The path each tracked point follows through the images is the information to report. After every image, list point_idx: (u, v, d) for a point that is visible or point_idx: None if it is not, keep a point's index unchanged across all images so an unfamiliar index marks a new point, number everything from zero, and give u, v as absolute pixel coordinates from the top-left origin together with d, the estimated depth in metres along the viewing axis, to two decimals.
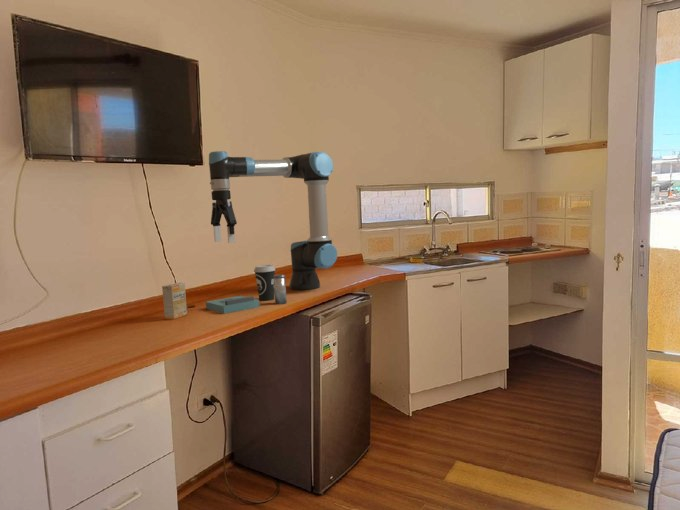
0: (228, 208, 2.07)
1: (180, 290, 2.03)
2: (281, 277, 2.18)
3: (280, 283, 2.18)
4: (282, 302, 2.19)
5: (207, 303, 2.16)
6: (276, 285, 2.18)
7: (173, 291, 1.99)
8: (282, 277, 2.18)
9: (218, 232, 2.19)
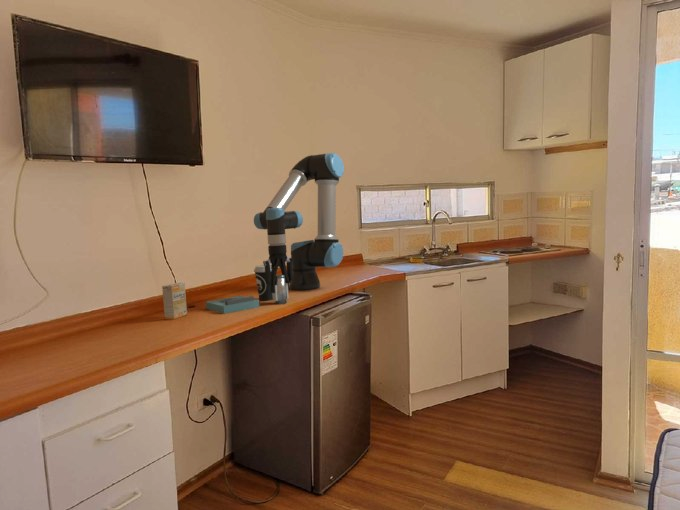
0: (265, 268, 2.16)
1: (180, 290, 2.03)
2: (281, 277, 2.18)
3: (280, 283, 2.18)
4: (282, 302, 2.19)
5: (207, 303, 2.16)
6: None
7: (173, 291, 1.99)
8: (282, 277, 2.18)
9: None
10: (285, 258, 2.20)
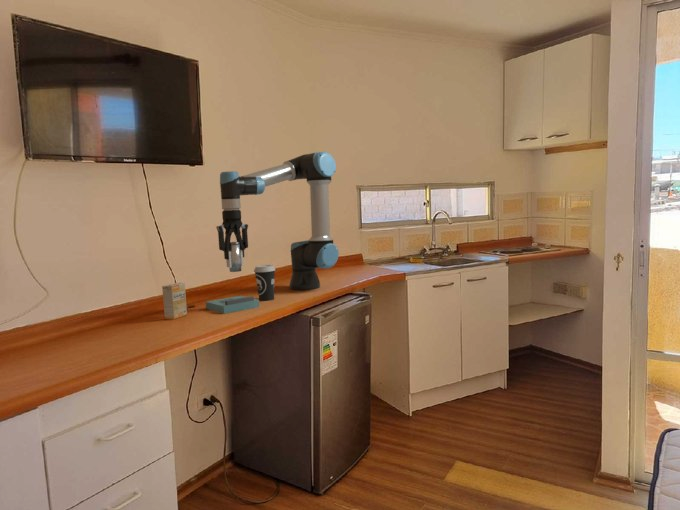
0: (218, 233, 2.10)
1: (180, 290, 2.03)
2: (235, 244, 2.12)
3: (234, 250, 2.12)
4: (236, 270, 2.13)
5: (207, 303, 2.16)
6: None
7: (173, 291, 1.99)
8: (236, 244, 2.12)
9: None
10: (240, 224, 2.14)
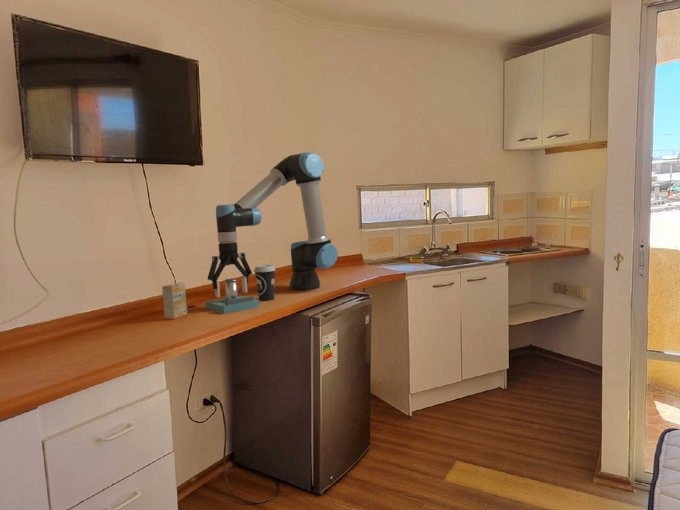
0: (212, 263, 2.10)
1: (180, 290, 2.03)
2: (232, 281, 2.13)
3: (231, 287, 2.13)
4: None
5: (207, 303, 2.16)
6: (227, 289, 2.13)
7: (173, 291, 1.99)
8: (233, 281, 2.13)
9: (244, 283, 2.19)
10: (237, 256, 2.15)
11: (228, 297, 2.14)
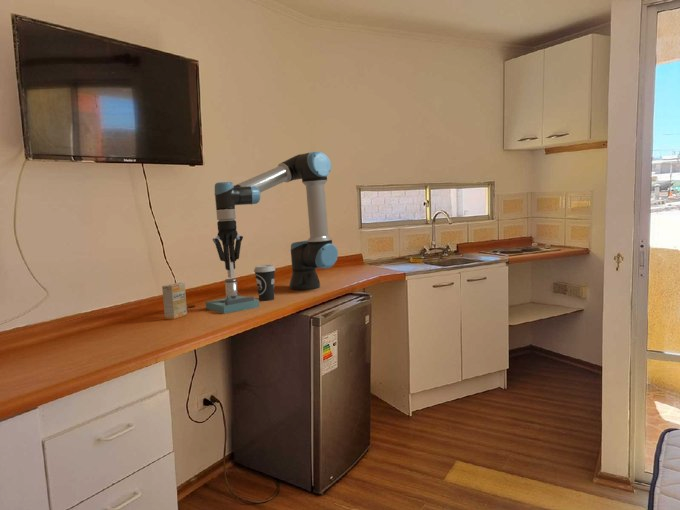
0: (216, 245, 2.11)
1: (180, 290, 2.03)
2: (232, 281, 2.13)
3: (232, 287, 2.13)
4: None
5: (207, 303, 2.16)
6: (227, 289, 2.13)
7: (173, 291, 1.99)
8: (233, 281, 2.13)
9: None
10: (235, 234, 2.14)
11: (228, 297, 2.14)
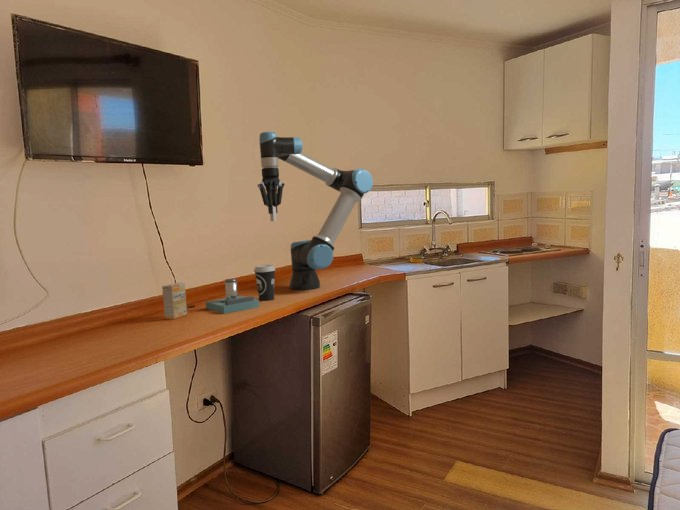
0: (260, 190, 2.29)
1: (180, 290, 2.03)
2: (232, 281, 2.13)
3: (232, 287, 2.13)
4: None
5: (207, 303, 2.16)
6: (227, 289, 2.13)
7: (173, 291, 1.99)
8: (233, 281, 2.13)
9: None
10: (277, 181, 2.32)
11: (228, 297, 2.14)
